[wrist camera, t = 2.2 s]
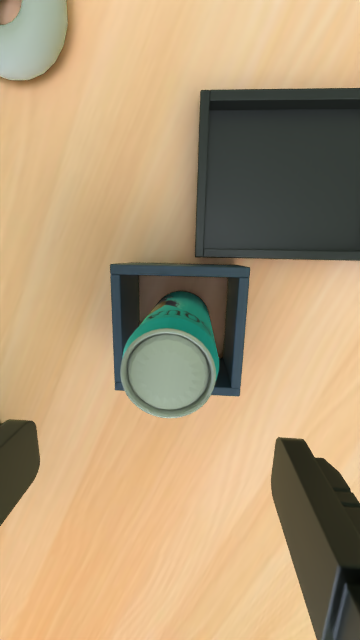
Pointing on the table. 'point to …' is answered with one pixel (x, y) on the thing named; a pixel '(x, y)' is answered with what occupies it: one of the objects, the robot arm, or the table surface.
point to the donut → (33, 39)
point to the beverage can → (171, 358)
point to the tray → (279, 174)
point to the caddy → (128, 275)
